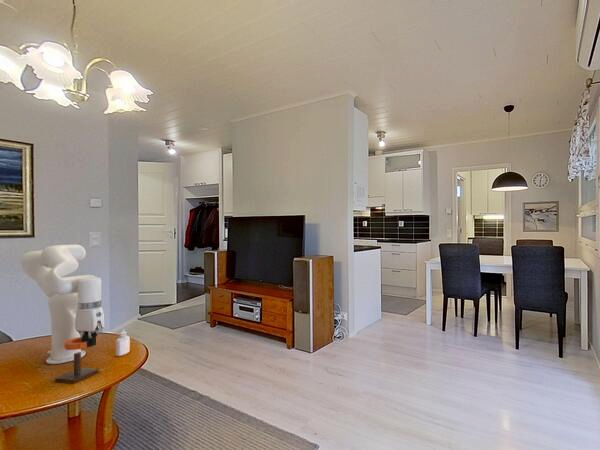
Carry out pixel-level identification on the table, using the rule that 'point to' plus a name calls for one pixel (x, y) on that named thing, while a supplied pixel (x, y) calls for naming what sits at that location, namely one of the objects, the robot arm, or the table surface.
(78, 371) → the post
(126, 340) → the eye dropper bottle
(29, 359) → the table surface
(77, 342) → the ring
